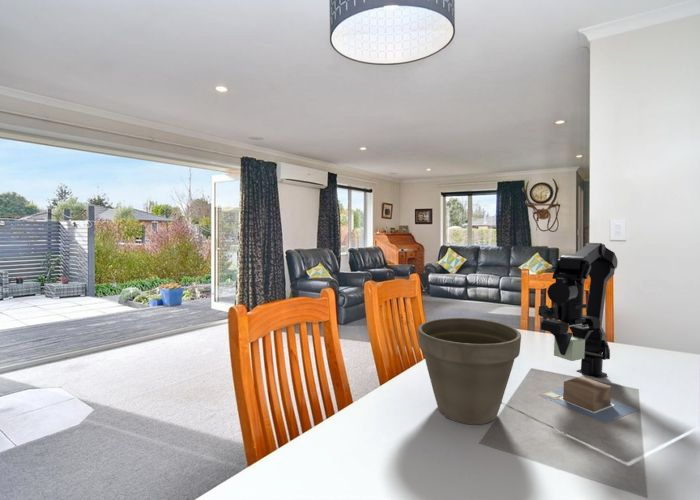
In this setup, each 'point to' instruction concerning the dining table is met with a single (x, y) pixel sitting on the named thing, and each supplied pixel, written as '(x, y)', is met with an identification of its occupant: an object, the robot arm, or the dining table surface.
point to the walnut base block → (587, 393)
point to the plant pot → (469, 365)
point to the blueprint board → (601, 414)
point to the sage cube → (572, 349)
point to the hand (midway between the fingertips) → (569, 353)
